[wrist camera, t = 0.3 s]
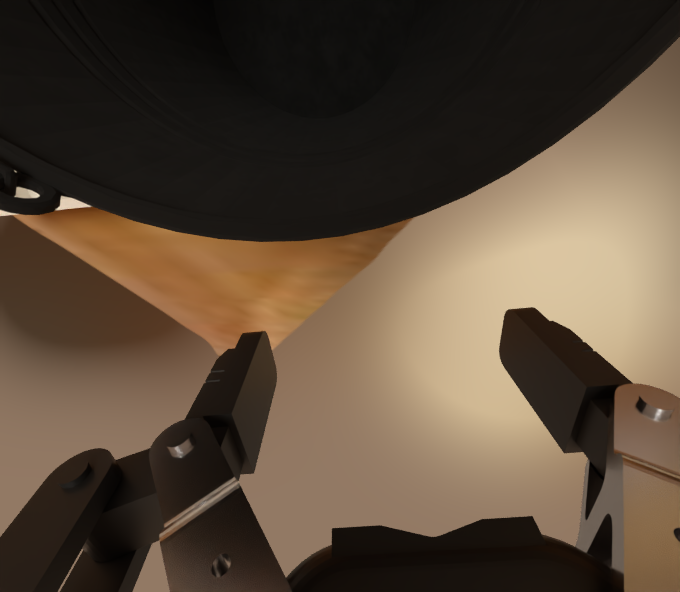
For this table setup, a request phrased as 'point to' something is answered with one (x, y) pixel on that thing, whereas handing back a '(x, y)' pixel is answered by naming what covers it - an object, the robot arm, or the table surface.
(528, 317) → the robot arm
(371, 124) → the bucket
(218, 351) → the table surface
